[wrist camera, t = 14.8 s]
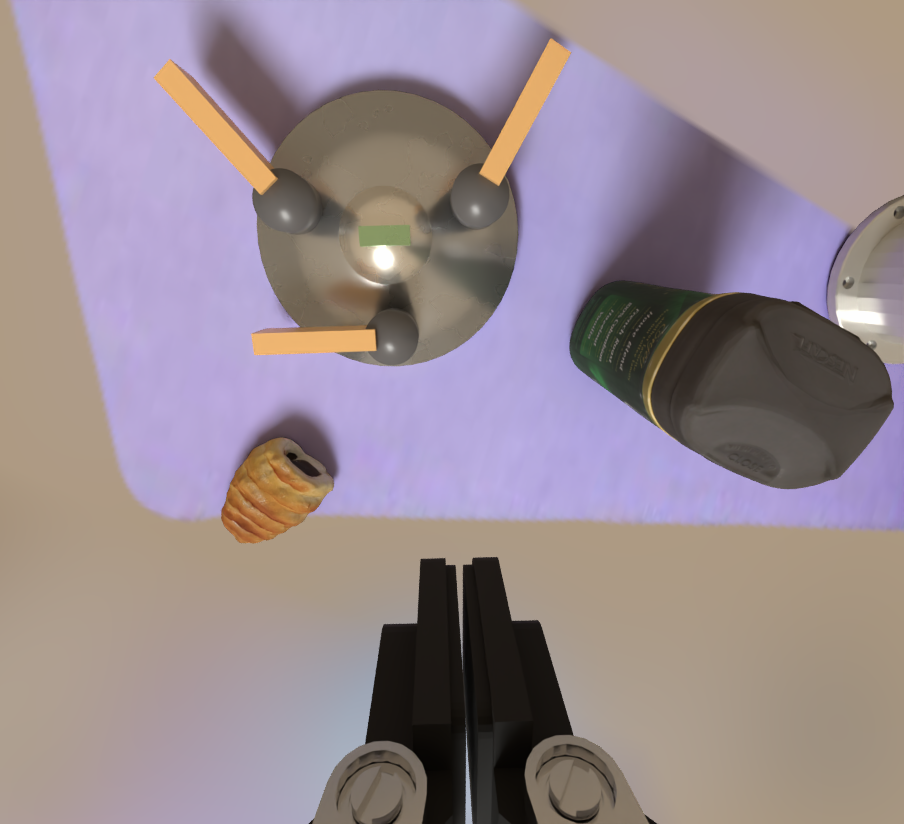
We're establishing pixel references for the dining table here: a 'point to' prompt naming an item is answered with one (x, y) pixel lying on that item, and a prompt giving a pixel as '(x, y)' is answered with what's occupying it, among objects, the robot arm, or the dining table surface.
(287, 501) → the pastry
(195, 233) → the dining table surface
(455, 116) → the level plate
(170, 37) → the dining table surface
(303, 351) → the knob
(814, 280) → the dining table surface
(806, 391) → the coffee jar
